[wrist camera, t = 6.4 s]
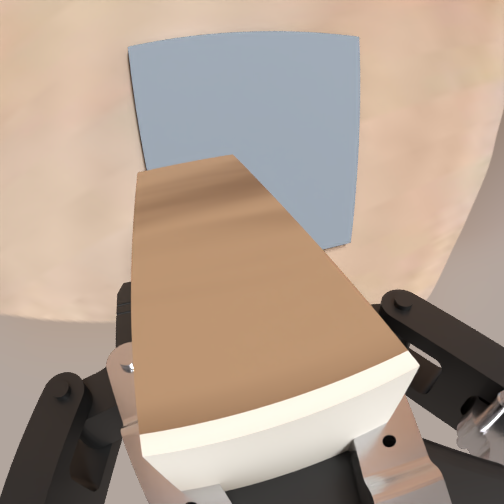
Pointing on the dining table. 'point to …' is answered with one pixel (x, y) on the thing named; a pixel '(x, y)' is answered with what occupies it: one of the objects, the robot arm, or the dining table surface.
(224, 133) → the mat
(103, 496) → the robot arm
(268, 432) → the slab
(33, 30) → the dining table surface
